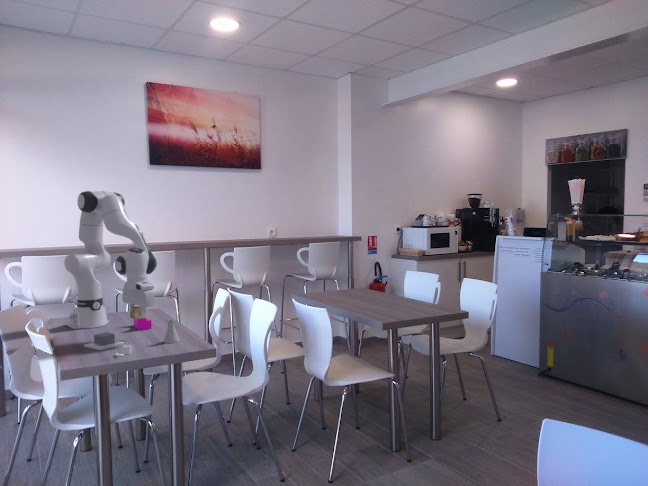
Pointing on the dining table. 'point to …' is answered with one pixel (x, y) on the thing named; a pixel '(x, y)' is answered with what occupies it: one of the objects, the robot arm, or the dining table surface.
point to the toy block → (143, 324)
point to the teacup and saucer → (125, 351)
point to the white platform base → (104, 341)
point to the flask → (171, 333)
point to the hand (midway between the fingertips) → (138, 314)
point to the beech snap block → (136, 312)
